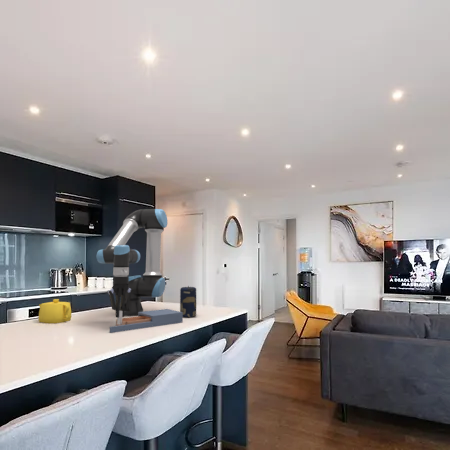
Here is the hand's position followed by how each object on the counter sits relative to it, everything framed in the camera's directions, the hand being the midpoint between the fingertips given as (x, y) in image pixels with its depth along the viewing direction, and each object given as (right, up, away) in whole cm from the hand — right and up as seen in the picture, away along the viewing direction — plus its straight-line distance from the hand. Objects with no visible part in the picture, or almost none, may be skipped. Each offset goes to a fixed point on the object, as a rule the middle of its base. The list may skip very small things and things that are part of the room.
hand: (119, 324), depth 172 cm
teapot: (-42, -4, +18) cm, 45 cm away
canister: (+31, -5, +32) cm, 45 cm away
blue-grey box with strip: (+9, -3, +8) cm, 12 cm away
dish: (+7, -2, +5) cm, 9 cm away
